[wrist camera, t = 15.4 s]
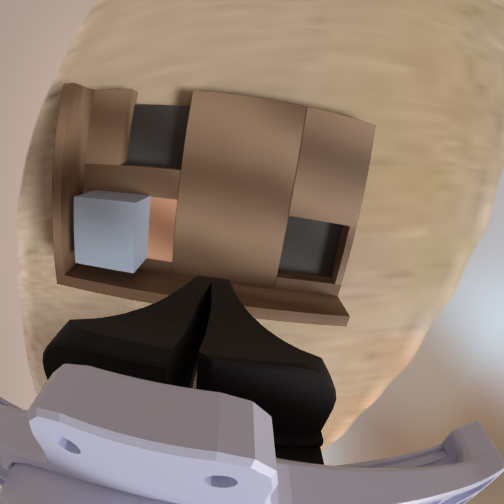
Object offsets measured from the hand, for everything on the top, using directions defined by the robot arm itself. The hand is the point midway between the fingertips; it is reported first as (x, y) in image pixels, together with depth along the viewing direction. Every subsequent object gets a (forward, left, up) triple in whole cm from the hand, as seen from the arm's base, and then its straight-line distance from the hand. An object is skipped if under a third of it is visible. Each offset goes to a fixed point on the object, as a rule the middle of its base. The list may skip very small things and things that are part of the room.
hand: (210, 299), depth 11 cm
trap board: (+3, +1, -10) cm, 11 cm away
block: (0, +8, -9) cm, 12 cm away
